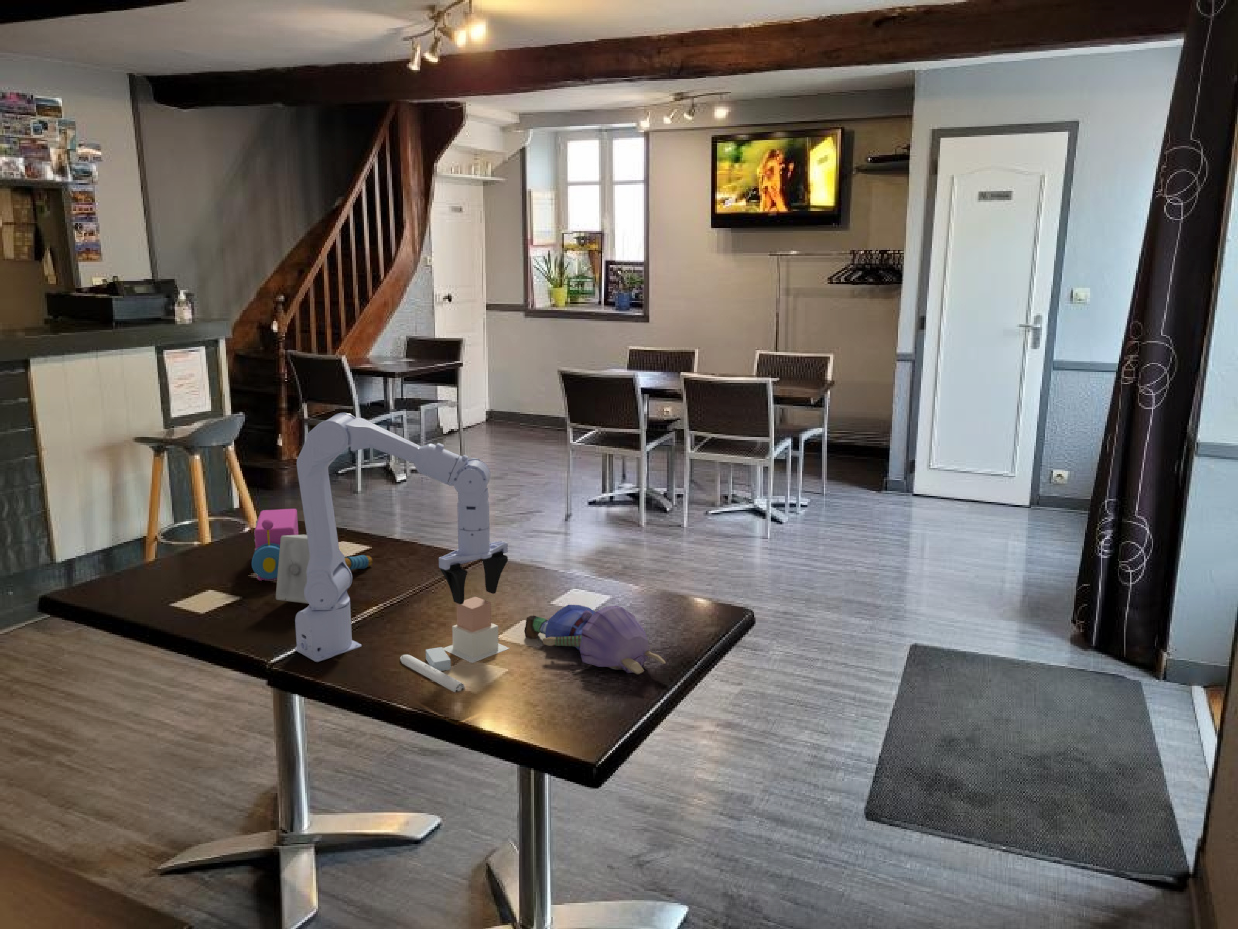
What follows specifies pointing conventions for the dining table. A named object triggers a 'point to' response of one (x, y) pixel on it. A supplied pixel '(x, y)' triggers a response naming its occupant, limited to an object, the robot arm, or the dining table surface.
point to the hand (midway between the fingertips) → (475, 597)
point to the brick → (438, 659)
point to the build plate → (472, 660)
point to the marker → (432, 673)
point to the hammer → (302, 567)
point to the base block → (475, 640)
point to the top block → (474, 614)
